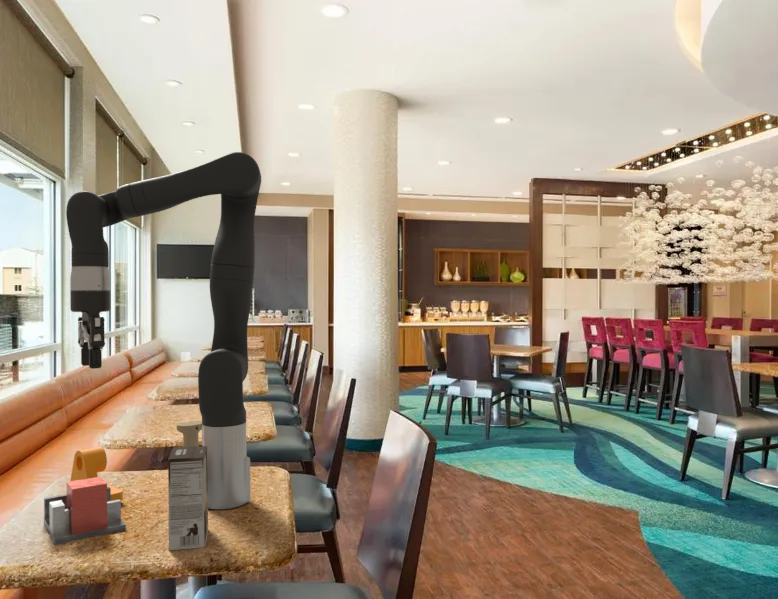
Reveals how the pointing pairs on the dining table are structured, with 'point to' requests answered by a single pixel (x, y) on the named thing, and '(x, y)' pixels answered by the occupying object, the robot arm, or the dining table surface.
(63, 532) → the bracket
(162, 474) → the dining table surface
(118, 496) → the bracket
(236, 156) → the robot arm
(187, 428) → the handle
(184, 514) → the coffee box
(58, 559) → the dining table surface
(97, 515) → the block
